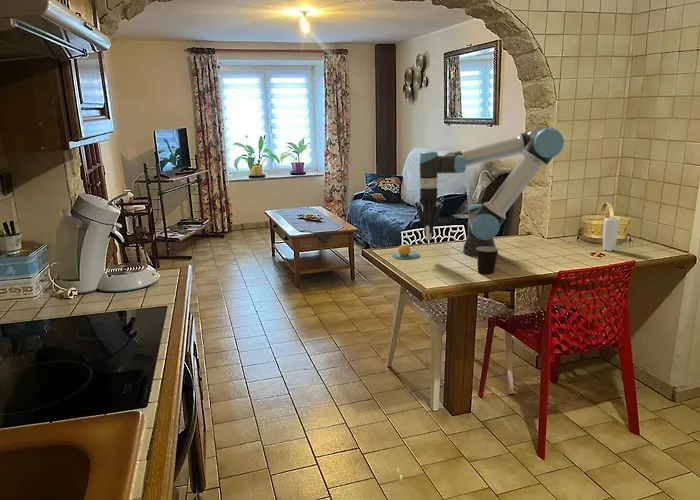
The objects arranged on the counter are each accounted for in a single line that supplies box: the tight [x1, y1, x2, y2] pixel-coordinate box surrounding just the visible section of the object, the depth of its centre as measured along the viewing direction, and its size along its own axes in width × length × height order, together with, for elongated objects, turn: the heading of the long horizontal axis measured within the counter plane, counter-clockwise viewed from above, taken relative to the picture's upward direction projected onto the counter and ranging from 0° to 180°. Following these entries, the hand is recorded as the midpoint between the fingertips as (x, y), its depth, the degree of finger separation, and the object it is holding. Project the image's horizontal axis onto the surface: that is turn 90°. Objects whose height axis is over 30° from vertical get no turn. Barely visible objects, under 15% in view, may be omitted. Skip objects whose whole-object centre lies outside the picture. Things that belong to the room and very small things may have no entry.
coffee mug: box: [476, 246, 499, 276], centre depth 218 cm, size 12×9×10 cm
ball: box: [397, 244, 411, 256], centre depth 244 cm, size 6×6×6 cm
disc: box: [391, 251, 421, 261], centre depth 244 cm, size 13×13×1 cm
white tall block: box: [602, 217, 621, 252], centre depth 246 cm, size 7×7×15 cm
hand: (428, 239), depth 236 cm, fingers closed
